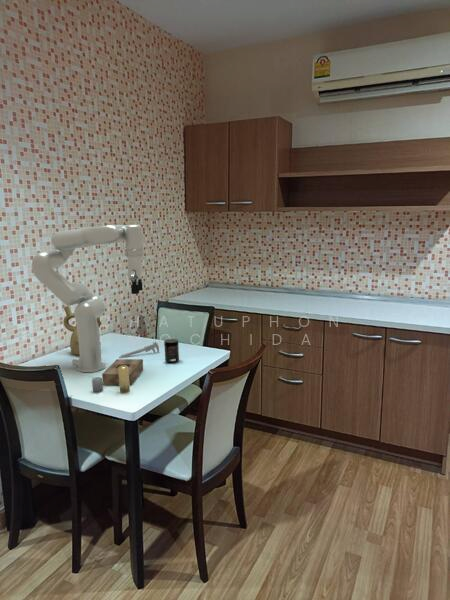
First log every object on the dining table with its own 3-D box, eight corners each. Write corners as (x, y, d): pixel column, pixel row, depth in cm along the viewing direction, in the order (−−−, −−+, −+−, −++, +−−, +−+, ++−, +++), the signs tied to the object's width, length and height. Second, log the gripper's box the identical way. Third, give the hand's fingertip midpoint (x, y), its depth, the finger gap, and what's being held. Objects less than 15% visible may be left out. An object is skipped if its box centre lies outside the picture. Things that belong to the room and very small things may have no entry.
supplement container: (176, 358, 227) (175, 338, 225) (181, 362, 221) (180, 341, 219) (163, 360, 224) (162, 340, 223) (167, 364, 218) (166, 343, 216)
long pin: (118, 392, 184) (116, 368, 183) (121, 389, 188) (119, 365, 187) (128, 392, 184) (126, 368, 182) (131, 389, 188) (129, 365, 186)
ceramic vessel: (99, 356, 234) (95, 308, 229) (60, 357, 234) (56, 308, 230) (108, 347, 250) (104, 301, 246) (72, 348, 251) (68, 302, 246)
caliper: (158, 352, 239) (157, 340, 238) (159, 353, 238) (158, 341, 237) (118, 358, 231) (117, 346, 230) (119, 358, 230) (118, 346, 229)
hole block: (103, 385, 193) (102, 373, 192) (117, 369, 213) (116, 359, 212) (131, 385, 192) (130, 374, 191) (143, 369, 212) (142, 359, 211)
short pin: (91, 392, 185) (90, 380, 184) (94, 389, 189) (94, 377, 188) (101, 392, 185) (100, 380, 184) (104, 389, 189) (103, 377, 188)
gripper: (129, 252, 211) (132, 289, 214) (122, 255, 194) (125, 295, 197) (146, 251, 212) (148, 288, 215) (140, 254, 195) (142, 294, 198)
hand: (137, 292), depth 206 cm, fingers open, 9 cm apart
